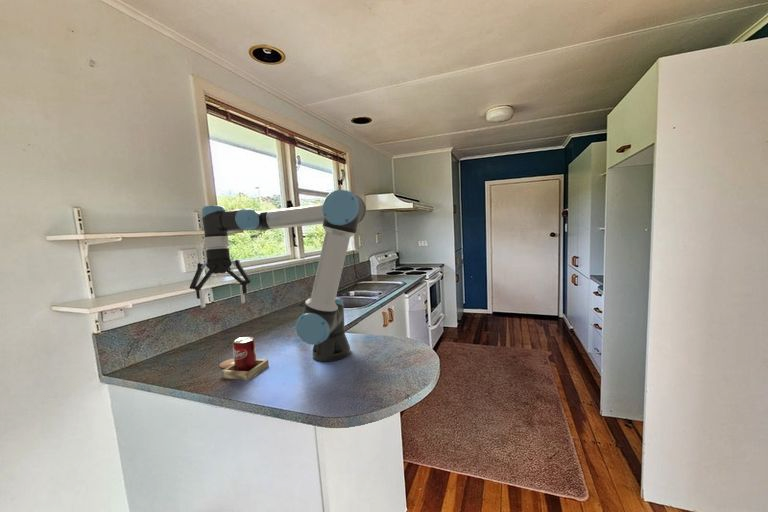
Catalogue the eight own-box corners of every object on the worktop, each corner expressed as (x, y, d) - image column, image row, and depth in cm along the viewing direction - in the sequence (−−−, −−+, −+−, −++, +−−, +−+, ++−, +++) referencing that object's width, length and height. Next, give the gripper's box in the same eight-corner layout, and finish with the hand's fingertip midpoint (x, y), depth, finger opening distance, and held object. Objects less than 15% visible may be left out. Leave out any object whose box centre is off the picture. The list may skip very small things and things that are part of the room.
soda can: (243, 378, 105) (240, 344, 104) (230, 373, 109) (228, 341, 108) (261, 369, 111) (258, 338, 110) (249, 366, 115) (246, 335, 114)
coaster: (247, 360, 121) (247, 358, 121) (232, 368, 113) (232, 367, 113) (230, 359, 123) (229, 357, 123) (214, 367, 115) (214, 366, 115)
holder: (268, 366, 114) (268, 359, 114) (249, 380, 104) (248, 373, 103) (243, 364, 117) (243, 358, 117) (222, 377, 106) (221, 371, 106)
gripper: (255, 245, 119) (260, 298, 120) (183, 250, 112) (189, 306, 114) (252, 245, 111) (257, 302, 113) (175, 251, 105) (181, 311, 107)
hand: (223, 304), depth 113 cm, fingers open, 13 cm apart
